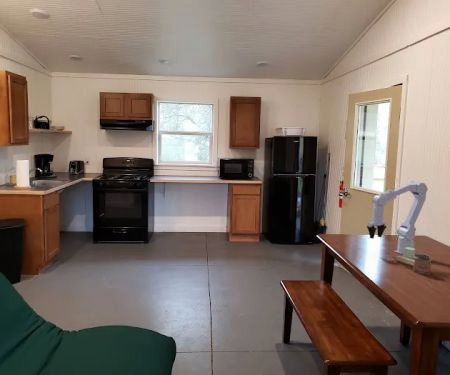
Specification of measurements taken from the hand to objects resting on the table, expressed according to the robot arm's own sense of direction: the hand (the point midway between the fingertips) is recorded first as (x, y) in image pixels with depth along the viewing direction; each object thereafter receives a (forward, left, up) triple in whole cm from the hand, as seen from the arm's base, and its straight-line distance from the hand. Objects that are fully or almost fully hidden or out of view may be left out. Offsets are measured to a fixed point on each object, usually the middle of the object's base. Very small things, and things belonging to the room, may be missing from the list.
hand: (375, 237), depth 233 cm
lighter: (+8, +34, -10) cm, 36 cm away
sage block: (-4, +19, -7) cm, 21 cm away
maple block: (-4, +20, -10) cm, 23 cm away
